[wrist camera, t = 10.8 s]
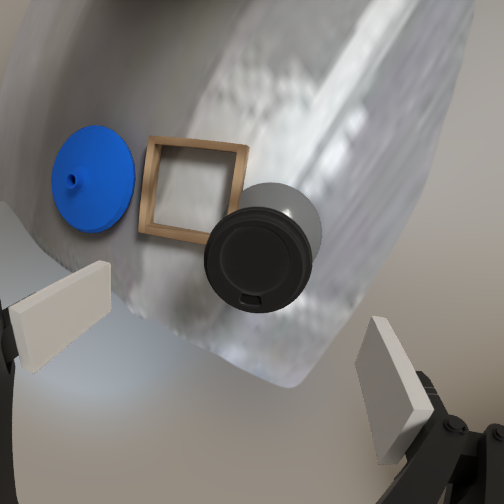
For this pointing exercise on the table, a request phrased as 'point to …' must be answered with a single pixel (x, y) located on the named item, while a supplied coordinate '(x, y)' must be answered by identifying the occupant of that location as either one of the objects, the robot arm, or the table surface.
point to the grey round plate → (286, 208)
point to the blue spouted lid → (93, 179)
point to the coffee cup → (258, 259)
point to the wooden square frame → (152, 177)
